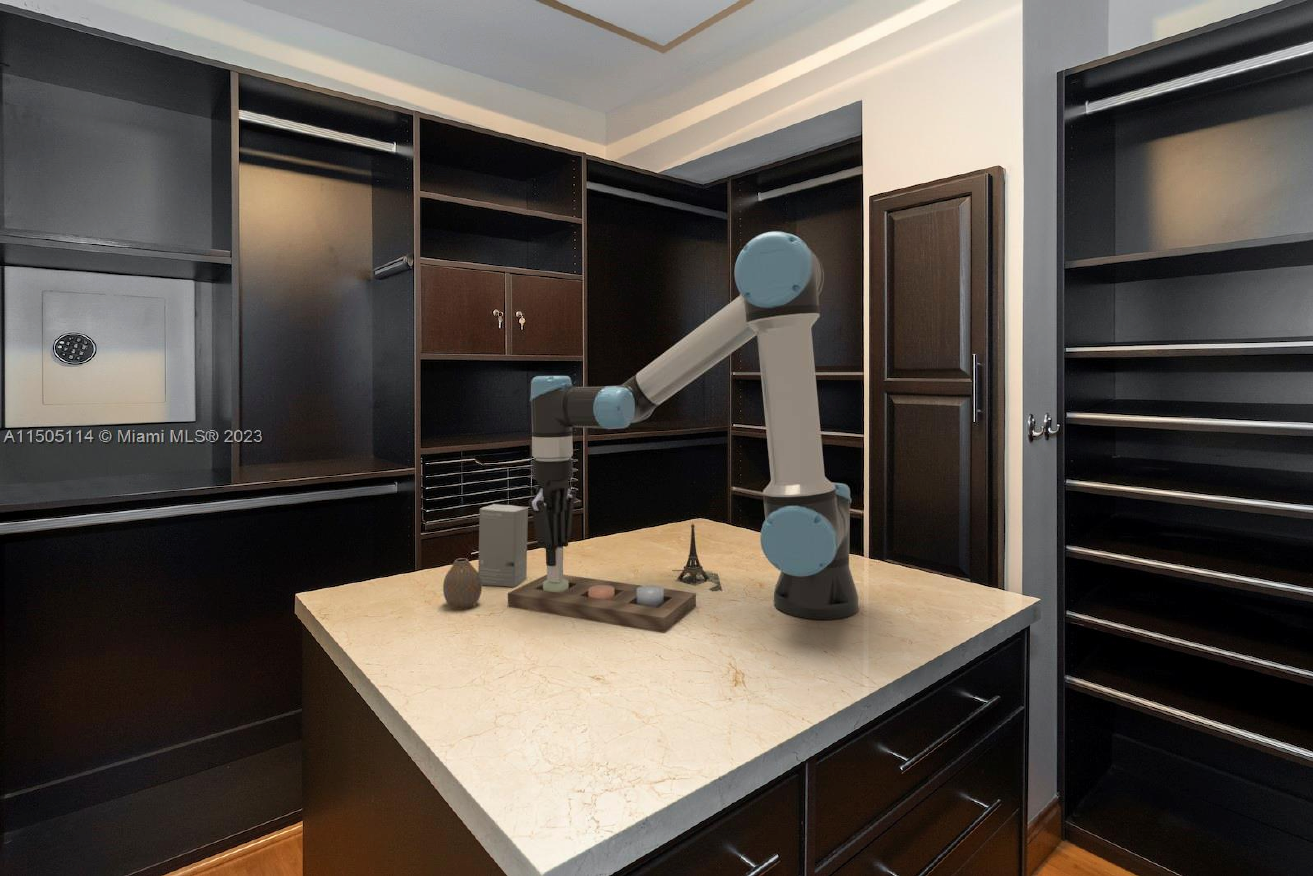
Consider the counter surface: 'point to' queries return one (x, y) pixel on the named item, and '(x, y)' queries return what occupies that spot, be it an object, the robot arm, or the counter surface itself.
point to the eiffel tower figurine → (697, 569)
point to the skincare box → (503, 545)
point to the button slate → (650, 596)
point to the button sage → (555, 586)
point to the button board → (604, 603)
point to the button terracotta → (601, 592)
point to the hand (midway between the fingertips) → (555, 580)
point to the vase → (462, 585)
